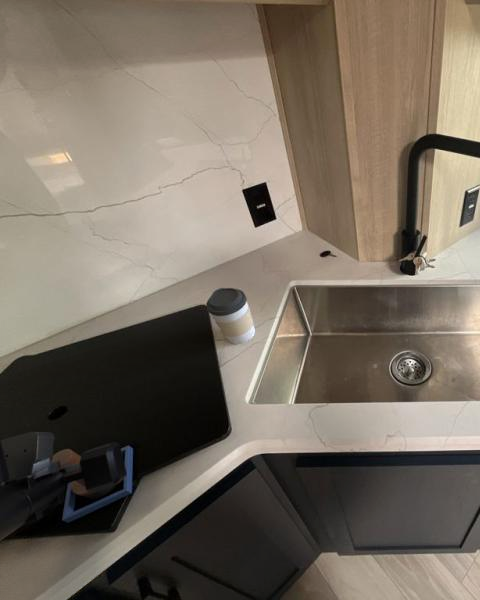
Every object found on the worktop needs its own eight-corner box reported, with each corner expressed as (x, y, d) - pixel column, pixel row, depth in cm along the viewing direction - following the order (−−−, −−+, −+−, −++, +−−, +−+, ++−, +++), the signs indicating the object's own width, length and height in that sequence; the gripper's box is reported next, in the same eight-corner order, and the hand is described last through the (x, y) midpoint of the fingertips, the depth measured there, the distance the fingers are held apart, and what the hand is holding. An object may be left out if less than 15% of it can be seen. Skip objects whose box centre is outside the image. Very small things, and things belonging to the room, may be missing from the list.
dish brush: (88, 508, 57) (39, 485, 49) (83, 483, 60) (35, 457, 52) (125, 485, 60) (84, 459, 52) (118, 462, 63) (79, 434, 55)
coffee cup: (266, 335, 88) (250, 295, 78) (234, 355, 83) (213, 314, 73) (249, 319, 92) (232, 278, 82) (218, 336, 87) (196, 295, 77)
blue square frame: (71, 524, 56) (61, 520, 54) (78, 474, 61) (69, 469, 60) (134, 494, 59) (127, 490, 57) (135, 450, 65) (128, 445, 63)
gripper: (76, 426, 44) (135, 400, 59) (-113, 478, 39) (4, 435, 54) (95, 505, 44) (149, 459, 59) (-91, 568, 39) (20, 500, 54)
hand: (83, 461), depth 56 cm, fingers open, 9 cm apart
